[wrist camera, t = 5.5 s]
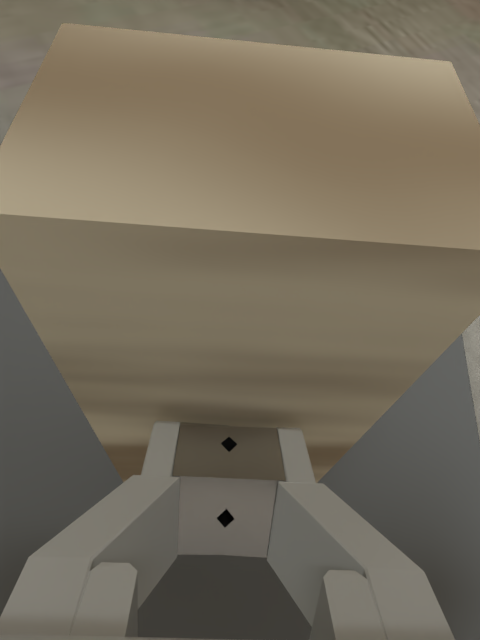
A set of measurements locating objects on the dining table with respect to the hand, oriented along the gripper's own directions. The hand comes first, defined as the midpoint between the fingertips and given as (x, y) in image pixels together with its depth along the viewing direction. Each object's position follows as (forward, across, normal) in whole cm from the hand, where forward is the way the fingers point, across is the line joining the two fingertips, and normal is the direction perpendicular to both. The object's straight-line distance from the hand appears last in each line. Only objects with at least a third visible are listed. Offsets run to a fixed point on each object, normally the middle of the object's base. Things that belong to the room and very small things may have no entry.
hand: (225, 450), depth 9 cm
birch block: (+7, 0, +5) cm, 9 cm away
